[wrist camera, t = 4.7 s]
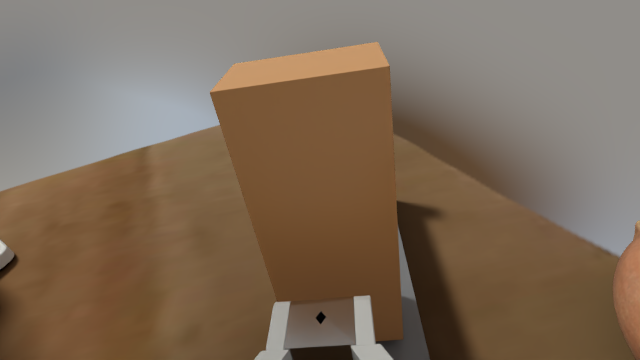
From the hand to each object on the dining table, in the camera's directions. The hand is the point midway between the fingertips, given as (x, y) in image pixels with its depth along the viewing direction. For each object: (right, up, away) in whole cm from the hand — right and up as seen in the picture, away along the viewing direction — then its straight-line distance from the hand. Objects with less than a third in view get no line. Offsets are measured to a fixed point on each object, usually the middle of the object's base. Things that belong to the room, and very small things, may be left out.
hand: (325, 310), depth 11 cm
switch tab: (+1, -2, +6) cm, 7 cm away
